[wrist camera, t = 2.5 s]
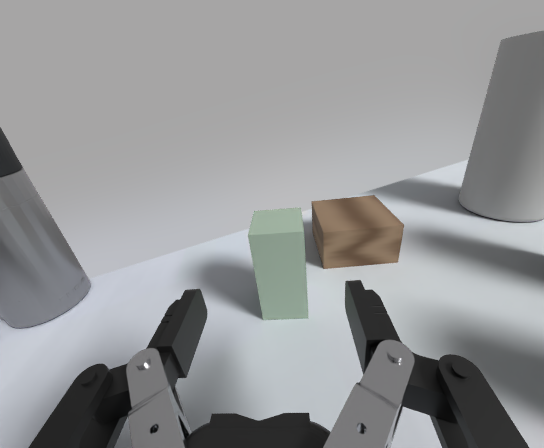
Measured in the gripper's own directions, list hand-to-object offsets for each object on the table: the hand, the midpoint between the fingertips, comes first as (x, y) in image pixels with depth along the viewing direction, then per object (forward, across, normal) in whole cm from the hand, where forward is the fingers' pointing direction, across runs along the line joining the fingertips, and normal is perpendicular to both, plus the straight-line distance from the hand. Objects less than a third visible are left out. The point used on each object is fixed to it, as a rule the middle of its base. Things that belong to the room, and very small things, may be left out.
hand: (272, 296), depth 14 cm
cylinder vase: (+32, -38, +12) cm, 51 cm away
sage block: (+12, 0, +12) cm, 17 cm away
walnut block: (+22, -10, +12) cm, 27 cm away
